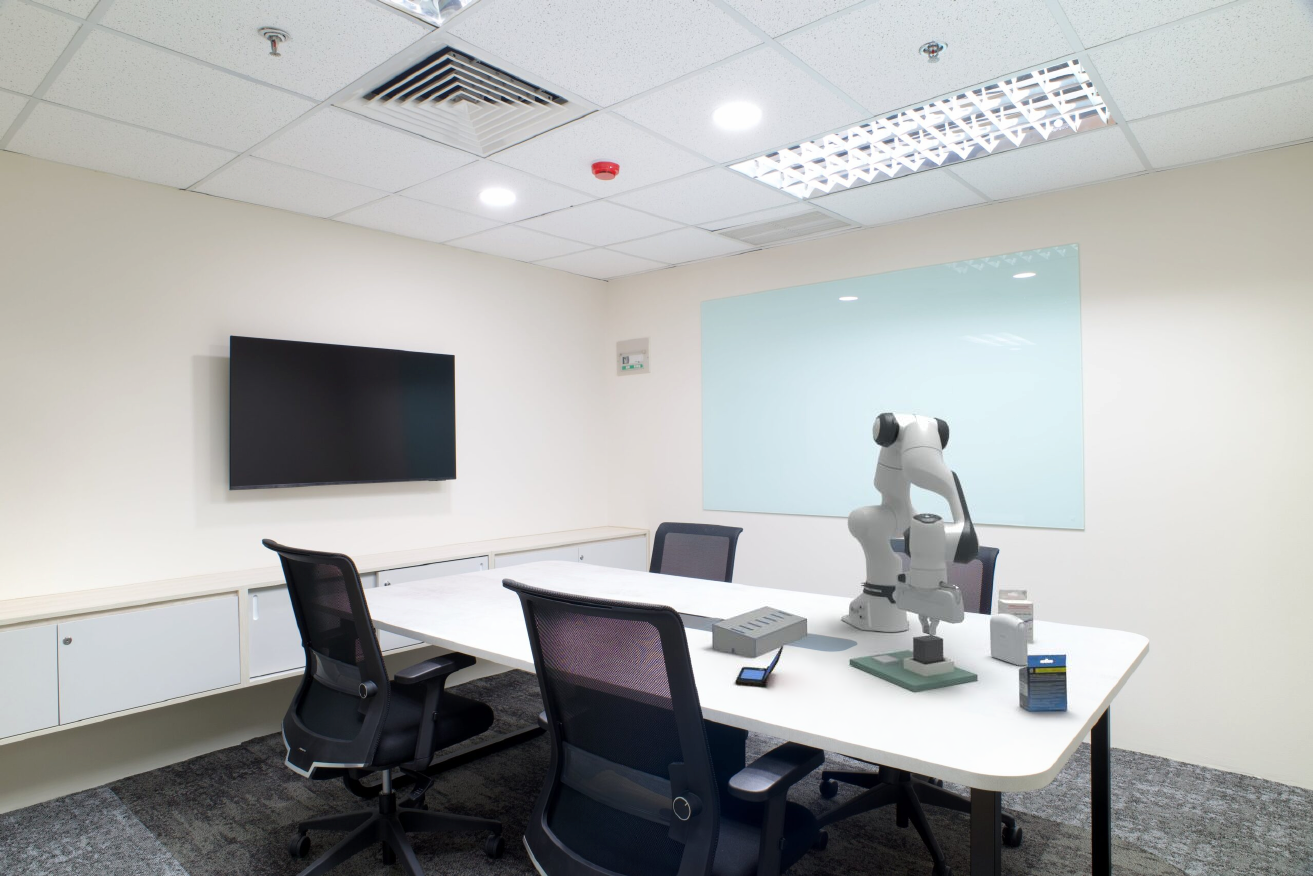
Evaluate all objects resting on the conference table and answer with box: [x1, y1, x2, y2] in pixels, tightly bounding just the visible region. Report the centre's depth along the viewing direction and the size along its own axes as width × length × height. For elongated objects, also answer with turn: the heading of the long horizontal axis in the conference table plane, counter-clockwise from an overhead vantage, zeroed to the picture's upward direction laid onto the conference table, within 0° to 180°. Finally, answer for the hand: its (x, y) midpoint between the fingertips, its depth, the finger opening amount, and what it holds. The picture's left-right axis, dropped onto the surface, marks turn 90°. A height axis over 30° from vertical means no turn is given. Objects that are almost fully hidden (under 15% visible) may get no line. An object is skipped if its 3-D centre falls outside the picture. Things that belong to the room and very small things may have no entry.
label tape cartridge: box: [1018, 653, 1068, 712], centre depth 163 cm, size 9×4×12 cm, turn 92°
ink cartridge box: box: [997, 588, 1034, 644], centre depth 219 cm, size 9×5×15 cm, turn 84°
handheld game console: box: [735, 646, 784, 688], centre depth 185 cm, size 12×11×7 cm
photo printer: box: [989, 613, 1029, 666], centre depth 199 cm, size 10×4×12 cm, turn 20°
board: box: [849, 649, 978, 693], centre depth 189 cm, size 24×20×4 cm
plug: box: [912, 634, 944, 665], centre depth 187 cm, size 4×7×8 cm, turn 114°
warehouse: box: [711, 606, 808, 659], centre depth 219 cm, size 30×14×8 cm, turn 141°
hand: (929, 634), depth 186 cm, fingers closed
